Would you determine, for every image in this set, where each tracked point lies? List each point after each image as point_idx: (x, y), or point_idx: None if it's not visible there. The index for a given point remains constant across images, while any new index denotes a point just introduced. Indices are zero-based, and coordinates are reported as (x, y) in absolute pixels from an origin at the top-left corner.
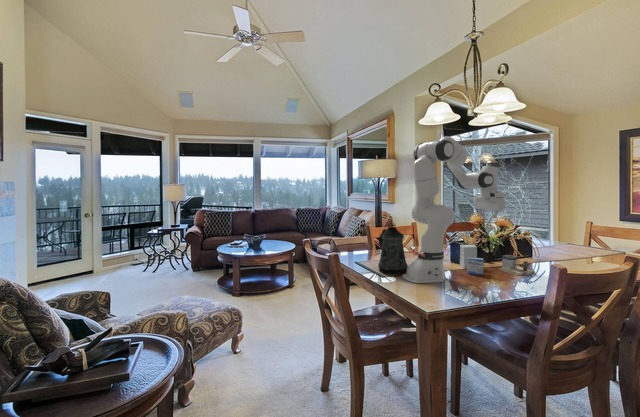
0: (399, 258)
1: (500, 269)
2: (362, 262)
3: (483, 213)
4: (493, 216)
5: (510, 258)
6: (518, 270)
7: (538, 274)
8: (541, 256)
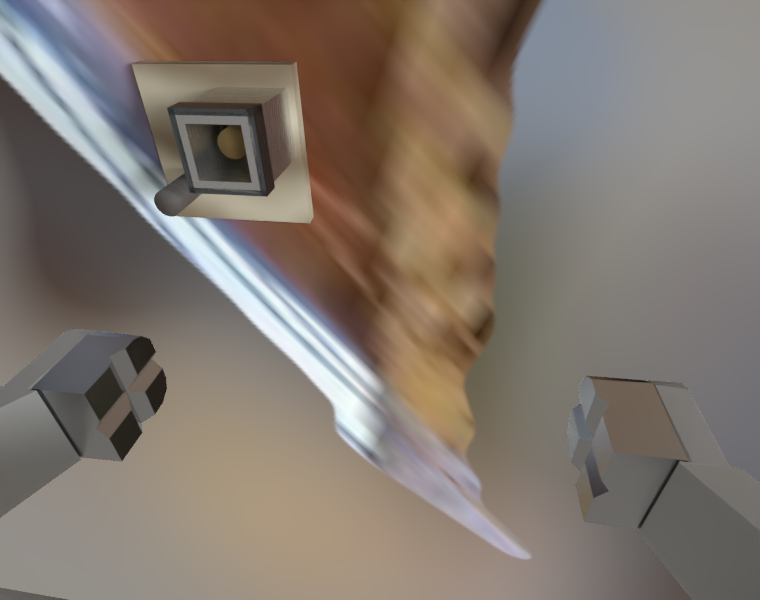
0: None
1: (284, 63)
2: None
3: (612, 524)
4: (81, 355)
5: (171, 109)
6: None
7: None
8: (457, 499)
